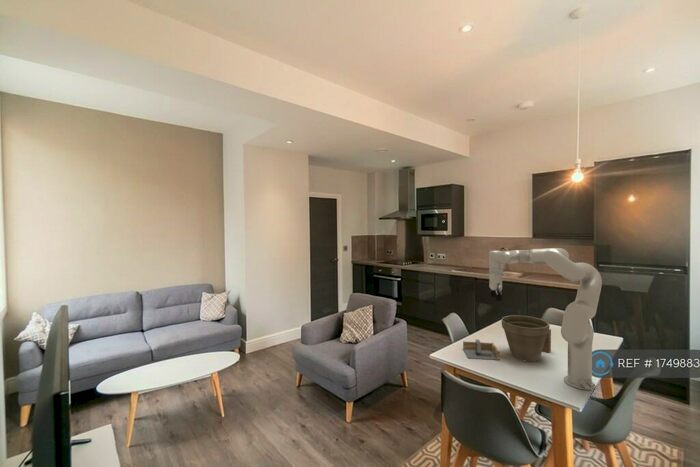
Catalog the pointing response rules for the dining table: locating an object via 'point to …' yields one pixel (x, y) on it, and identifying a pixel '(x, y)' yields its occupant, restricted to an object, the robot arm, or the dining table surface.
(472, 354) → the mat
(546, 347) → the wooden block
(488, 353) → the bracket
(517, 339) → the plant pot
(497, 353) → the walls
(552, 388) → the dining table surface
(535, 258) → the robot arm
